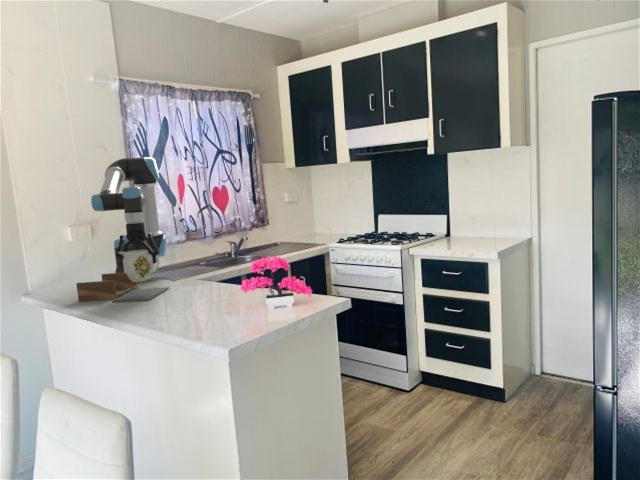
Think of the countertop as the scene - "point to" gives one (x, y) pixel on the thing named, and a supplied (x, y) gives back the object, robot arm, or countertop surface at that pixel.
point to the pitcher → (138, 264)
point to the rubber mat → (141, 295)
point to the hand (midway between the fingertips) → (139, 271)
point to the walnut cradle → (106, 287)
